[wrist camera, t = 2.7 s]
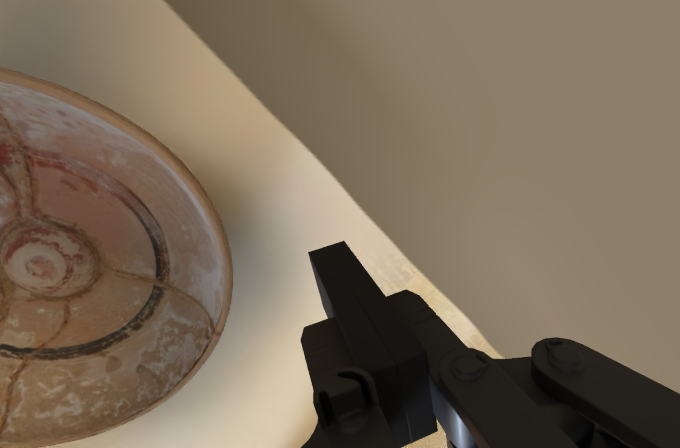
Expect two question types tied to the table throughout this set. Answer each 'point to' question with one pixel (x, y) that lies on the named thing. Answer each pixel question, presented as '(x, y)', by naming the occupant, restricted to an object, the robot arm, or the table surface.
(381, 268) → the table surface
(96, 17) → the table surface
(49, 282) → the ceramic bowl
